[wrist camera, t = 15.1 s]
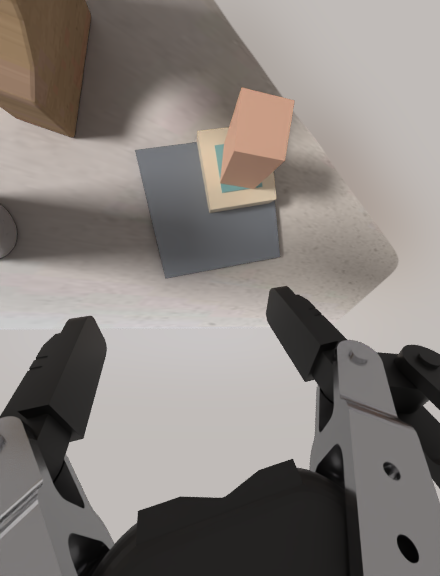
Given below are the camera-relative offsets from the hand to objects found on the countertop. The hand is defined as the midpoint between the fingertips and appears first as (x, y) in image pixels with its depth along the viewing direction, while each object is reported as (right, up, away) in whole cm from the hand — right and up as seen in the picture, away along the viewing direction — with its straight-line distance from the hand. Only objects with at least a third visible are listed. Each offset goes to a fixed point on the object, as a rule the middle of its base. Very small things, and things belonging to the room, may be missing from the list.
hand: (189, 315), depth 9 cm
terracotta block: (+4, +18, +19) cm, 26 cm away
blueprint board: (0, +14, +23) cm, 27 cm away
